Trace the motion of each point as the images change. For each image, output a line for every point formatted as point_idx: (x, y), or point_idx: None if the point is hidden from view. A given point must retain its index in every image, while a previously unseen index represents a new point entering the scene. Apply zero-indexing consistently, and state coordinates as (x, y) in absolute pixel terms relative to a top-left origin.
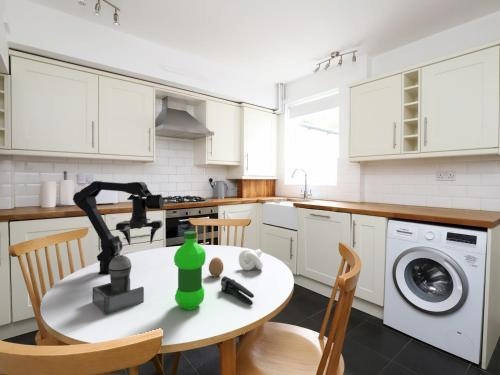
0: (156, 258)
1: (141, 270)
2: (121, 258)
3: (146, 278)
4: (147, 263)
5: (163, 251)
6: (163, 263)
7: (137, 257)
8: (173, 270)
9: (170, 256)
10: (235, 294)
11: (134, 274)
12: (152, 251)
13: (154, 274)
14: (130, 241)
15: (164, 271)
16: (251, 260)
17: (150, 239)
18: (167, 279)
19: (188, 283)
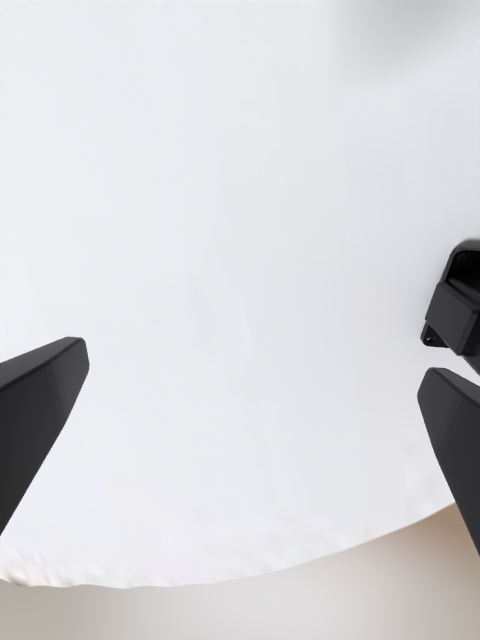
0: (201, 461)
1: (259, 277)
2: None
3: (191, 75)
4: (240, 397)
5: (186, 543)
6: (140, 377)
7: (311, 496)
8: (31, 229)
9: (129, 474)
10: None
11: (299, 200)
12: (243, 554)
13: (148, 167)
14: (431, 439)
15: (90, 221)
16: None
17: (26, 372)
18: (4, 3)
19: None
